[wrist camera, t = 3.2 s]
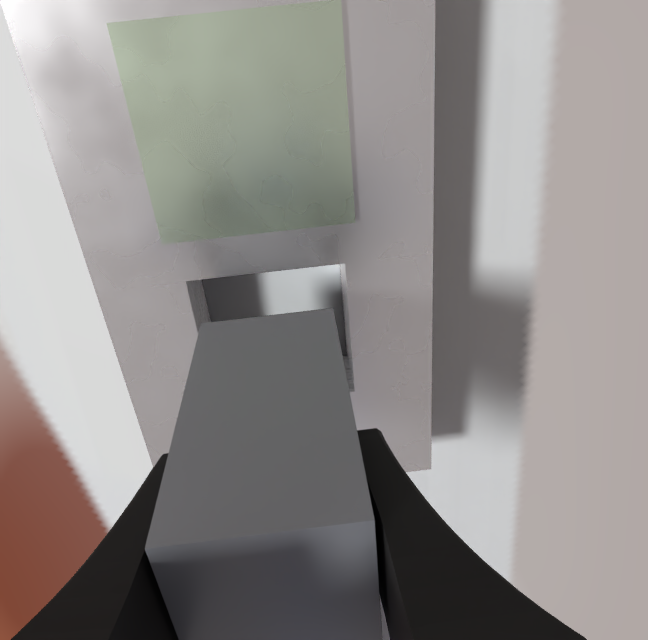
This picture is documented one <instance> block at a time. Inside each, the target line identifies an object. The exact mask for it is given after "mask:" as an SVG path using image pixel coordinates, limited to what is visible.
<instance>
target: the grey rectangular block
mask: <svg viewBox="0 0 648 640" xmlns="http://www.w3.org/2000/svg"><path fill="white" fill-rule="evenodd" d="M145 551H146V554H147V556H148V559H149V562H150V564H151V567H152V570H153V572H154V575H155V578H156V580H157V583H158V586H159V588H160V591H161V594H162V596H163V599H164V602H165V604H166V607H167V610H168V612H169V615H170V618H171V620H172V623H173V626H174V628H175V631H176V634H177V636H178V639H179V640H382V627H381V612H380V596H379V581H378V565H377V549H376V534H375V520H374V514H373V509H372V504H371V499H370V494H369V489H368V484H367V479H366V474H365V468H364V463H363V458H362V453H361V448H360V443H359V438H358V433H357V428H356V423H355V417H354V412H353V407H352V402H351V397H350V392H349V387H348V382H347V377H346V371H345V366H344V361H343V356H342V351H341V346H340V341H339V336H338V331H337V326H336V320H335V315H334V310H333V308H329V309H321V310H312V311H303V312H295V313H286V314H277V315H269V316H260V317H251V318H243V319H234V320H225V321H216V322H208V323H201V325H200V329H199V333H198V337H197V341H196V345H195V349H194V353H193V357H192V361H191V365H190V369H189V373H188V377H187V381H186V385H185V389H184V393H183V397H182V401H181V405H180V409H179V413H178V417H177V421H176V425H175V429H174V433H173V437H172V441H171V445H170V449H169V453H168V457H167V461H166V465H165V469H164V473H163V477H162V481H161V485H160V489H159V493H158V497H157V501H156V505H155V509H154V513H153V517H152V521H151V525H150V529H149V533H148V537H147V541H146V545H145Z"/></svg>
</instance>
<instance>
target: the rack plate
mask: <svg viewBox="0 0 648 640" xmlns="http://www.w3.org/2000/svg"><path fill="white" fill-rule="evenodd" d="M0 2H1V5H2V9H3V12H4V15H5V18H6V21H7V24H8V27H9V30H10V33H11V36H12V39H13V42H14V45H15V48H16V51H17V54H18V57H19V60H20V63H21V66H22V69H23V72H24V75H25V78H26V81H27V84H28V88H29V91H30V94H31V97H32V100H33V103H34V106H35V109H36V112H37V115H38V118H39V121H40V124H41V127H42V130H43V133H44V136H45V139H46V142H47V145H48V148H49V151H50V154H51V157H52V160H53V164H54V167H55V170H56V173H57V176H58V179H59V182H60V185H61V188H62V191H63V194H64V197H65V200H66V203H67V206H68V209H69V212H70V215H71V218H72V221H73V224H74V227H75V230H76V233H77V236H78V239H79V243H80V246H81V249H82V252H83V255H84V258H85V261H86V264H87V267H88V270H89V273H90V276H91V279H92V282H93V285H94V288H95V291H96V294H97V297H98V300H99V303H100V306H101V309H102V312H103V315H104V319H105V322H106V325H107V328H108V331H109V334H110V337H111V340H112V343H113V346H114V349H115V352H116V355H117V358H118V361H119V364H120V367H121V370H122V373H123V376H124V379H125V382H126V385H127V388H128V391H129V394H130V398H131V401H132V404H133V407H134V410H135V413H136V416H137V419H138V422H139V425H140V428H141V431H142V434H143V437H144V440H145V443H146V446H147V449H148V452H149V455H150V458H151V461H152V464H153V467H154V466H155V464H156V463H157V461H158V460H159V458H160V457H161V456H162V455H163V454H166V453H169V449H170V445H171V441H172V437H173V433H174V429H175V425H176V421H177V417H178V413H179V409H180V405H181V401H182V397H183V393H184V389H185V385H186V381H187V377H188V373H189V369H190V365H191V361H192V357H193V353H194V349H195V345H196V341H197V337H198V333H199V329H200V325H201V323H208V322H211V320H210V316H209V311H208V307H207V302H206V298H205V293H204V288H203V284H202V279H210V278H219V277H228V276H237V275H245V274H254V273H263V272H272V271H281V270H290V269H298V268H307V267H316V266H325V265H334V264H340V272H341V285H342V297H343V309H344V321H345V334H346V346H347V355H346V356H343V361H344V366H345V371H346V377H347V382H348V387H349V392H350V397H351V402H352V407H353V412H354V417H355V423H356V428H357V430H364V429H373V428H377V429H379V430H380V431H381V432H382V434H383V436H384V438H385V440H386V442H387V444H388V446H389V447H390V449H391V451H392V452H393V454H394V456H395V457H396V459H397V460H398V462H399V463H400V465H401V467H402V468H403V469H404V471H405V472H411V471H419V470H427V469H431V426H432V319H433V213H434V106H435V0H0Z"/></svg>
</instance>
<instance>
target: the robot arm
mask: <svg viewBox="0 0 648 640" xmlns="http://www.w3.org/2000/svg"><path fill="white" fill-rule="evenodd" d="M357 433H358V438H359V443H360V448H361V453H362V458H363V463H364V468H365V474H366V479H367V484H368V489H369V494H370V499H371V504H372V509H373V514H374V520H375V534H376V549H377V565H378V581H379V594H380V598H381V601H382V605H383V609H384V613H385V617H386V622H387V626H388V631H389V635H390V640H587V639H586V638H584V637H583V636H581V635H580V634H578V633H577V632H575V631H574V630H572V629H571V628H569V627H568V626H566V625H565V624H563V623H562V622H561V621H559V620H558V619H556V618H555V617H554V616H552V615H551V614H549V613H548V612H546V611H545V610H544V609H542V608H541V607H540V606H538V605H537V604H536V603H534V602H533V601H532V600H530V599H529V598H528V597H526V596H525V595H524V594H523V593H521V592H520V591H518V590H517V589H516V588H515V587H514V586H513V585H512V584H510V583H509V582H508V581H507V580H506V579H504V578H503V577H502V576H501V575H500V574H499V573H497V572H496V571H495V570H494V569H493V568H491V567H490V566H489V565H488V564H487V563H486V562H485V561H483V560H482V559H481V558H480V557H479V556H478V555H477V554H476V553H475V552H474V551H473V550H472V549H471V548H470V547H469V546H468V545H467V544H466V543H465V542H464V541H463V540H462V539H461V538H460V537H459V536H458V535H457V534H456V533H455V532H454V531H453V530H452V529H451V528H450V527H449V526H448V525H447V524H446V522H445V521H444V520H443V519H442V518H441V517H440V516H439V514H438V513H437V512H436V511H435V510H434V509H433V507H432V506H431V505H430V504H429V503H428V501H427V500H426V499H425V498H424V496H423V495H422V494H421V493H420V491H419V490H418V489H417V487H416V486H415V485H414V483H413V482H412V481H411V479H410V478H409V476H408V475H407V474H406V472H405V471H404V469H403V468H402V467H401V465H400V463H399V462H398V460H397V459H396V457H395V456H394V454H393V452H392V451H391V449H390V447H389V446H388V444H387V442H386V440H385V438H384V436H383V434H382V432H381V431H380V430H379V429H377V428H373V429H364V430H357ZM167 457H168V453H166V454H163V455H162V456H161V457H160V458H159V460H158V461H157V463H156V464H155V466H154V467H153V469H152V470H151V472H150V474H149V475H148V477H147V478H146V480H145V481H144V483H143V484H142V486H141V487H140V489H139V490H138V492H137V493H136V495H135V496H134V498H133V499H132V501H131V502H130V503H129V505H128V506H127V508H126V509H125V510H124V512H123V513H122V515H121V516H120V517H119V519H118V520H117V522H116V523H115V524H114V526H113V527H112V529H111V530H110V531H109V532H108V534H107V535H106V536H105V538H104V539H103V540H102V541H101V543H100V544H99V545H98V547H97V548H96V549H95V550H94V552H93V553H92V554H91V555H90V557H89V558H88V559H87V560H86V562H85V563H84V564H83V565H82V566H81V568H80V569H79V570H78V571H77V572H76V574H74V576H73V577H72V578H71V579H70V580H69V581H68V582H67V583H66V585H65V586H64V587H63V588H62V589H61V590H60V591H59V592H58V593H57V594H56V596H55V597H54V598H53V599H52V600H51V601H50V602H49V603H48V604H47V605H46V606H45V607H44V608H43V609H42V610H41V611H40V612H39V613H38V614H37V615H36V616H35V617H34V618H33V619H32V620H31V621H30V622H29V623H28V624H27V625H26V626H25V627H23V628H22V629H21V630H20V631H19V632H18V634H16V635H15V636H14V637H13V638H12V639H11V640H179V639H178V636H177V634H176V631H175V628H174V626H173V623H172V620H171V618H170V615H169V612H168V610H167V607H166V604H165V602H164V599H163V596H162V594H161V591H160V588H159V586H158V583H157V580H156V578H155V575H154V572H153V570H152V567H151V564H150V562H149V559H148V556H147V554H146V551H145V545H146V541H147V537H148V533H149V529H150V525H151V521H152V517H153V513H154V509H155V505H156V501H157V497H158V493H159V489H160V485H161V481H162V477H163V473H164V469H165V465H166V461H167Z"/></svg>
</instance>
